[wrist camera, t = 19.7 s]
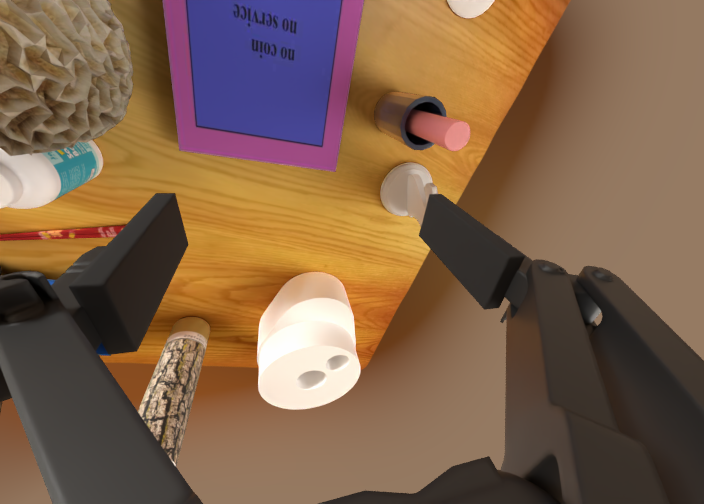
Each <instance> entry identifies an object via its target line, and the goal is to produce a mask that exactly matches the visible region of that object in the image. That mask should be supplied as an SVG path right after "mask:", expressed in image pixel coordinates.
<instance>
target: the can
mask: <svg viewBox="0 0 704 504" xmlns="http://www.w3.org/2000/svg"><path fill="white" fill-rule="evenodd" d="M412 109H416V110H420V111H424V112H428V113H432V114H436V115H440V116H444V117H446V110H445V108H444V106H443V104H442V102H440V101H439V100H438V99H437V98H435V97H431V96H424V95H417V94H410V93H403V92H395V91H394V92H389V93H387V94H385V95H384V96H382V97H381V98H380V100H379V101H378V103H377V105H376V107H375V111H374V120H375V123H376V126H377V127H378V129H379V130H380V131H381V132H383V133H384V134H386V135H388V136H390V137H392V138H393V139H395V140H397V141H399V142H401V143H403V144H404V145H406V146H408V147H410V148H412V149H414V150H424V149H427V148H430V147H431V146H433V145H434V143H432V142H430V141H428V140H425V139H423V138H421V137H418V136H416V135H414V134H412V133H409V132H407V131H405V124H406V119H407V117H408V115H409V113H410V111H411V110H412Z"/></svg>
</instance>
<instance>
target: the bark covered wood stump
mask: <svg viewBox="0 0 704 504" xmlns="http://www.w3.org/2000/svg"><path fill="white" fill-rule="evenodd" d="M209 335H210V326H209V324H208V323H207V322H206V321H205V320H203V319H201V318H198V317H185V318H182V319H180V320H178V321H177V322H176V323H175V324H174V325H173V327H172V330H171V332H170V334H169V337H168V339H167V341H166V344H165V346H164V349H163V351H162V354H161V356H160V359H159V361H158V363H157V366H156V368H155V371H154V373H153V376H152V378H151V381H150V383H149V385H148V388H147V390H146V393H145V395H144V398H143V400H142V403H141V405H140V408H139V410H138V413H139V414H140V416H141V417H142V419H143V420H144V422H145V423H146V425H147V426H148V427H149V429H150V430H151V432H152V433H153V435H154V436H155V438H156V439H157V440H158V442H159V443H160V445H161V446H162V448H163V449H164V451H165V452H166V453H167V455H168V456H169V458H170V459H171V461H172V462H173V463H174V465H175V466H176V465H177V461H178V457H179V453H180V449H181V445H182V441H183V438H184V434H185V430H186V426H187V422H188V418H189V414H190V410H191V406H192V402H193V398H194V394H195V390H196V386H197V382H198V378H199V374H200V371H201V367H202V363H203V359H204V355H205V351H206V347H207V342H208V339H209Z"/></svg>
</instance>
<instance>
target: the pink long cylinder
mask: <svg viewBox="0 0 704 504" xmlns="http://www.w3.org/2000/svg"><path fill="white" fill-rule="evenodd" d="M405 131H407V132H409V133H412V134H414V135H416V136H418V137H421V138H423V139H425V140H428V141H430V142H432V143H434V144H437V145H439V146H441V147H444V148H446V149H448V150H451V151H458V150H460V149H462V148H463V147H464V146H465V145H466V144H467V142H468V140H469V138H470V127H469V125H468V124H467V123H466V122H463V121H460V120H456V119H452V118H448V117H444V116H440V115H436V114H432V113H428V112H424V111H420V110H416V109H412V110H411V111H410V113H409V115H408V117H407V119H406V124H405Z"/></svg>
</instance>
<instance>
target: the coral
mask: <svg viewBox="0 0 704 504" xmlns="http://www.w3.org/2000/svg"><path fill="white" fill-rule="evenodd" d="M110 7H111V4H110V3H109V1H108V0H0V148H1V149H2V150H4V151H5V152H6V153H7V154H8V155H10V156H16V155H23V154H30V155H31V156H32V154H33V153H45V152H51V151H56V150H60V149H65V148H66V147H69V148H73V147H74V145H75V144H76V143H77V142H85V143H87V142H89V141H90V140H92V139H95V138H97V137H99V136H101V135H103V134H104V133H105V132H106V131H108V130H109V129H111V128H113V127H114V126H116V124H118V123H119V122H120V121H121V120H123V118H124V116H125V114H126V112H127V106H128V103H129V99H130V97H131V94H132V88H133V83H132V79H131V76H132V75H133V69H132V62H131V56H130V54H131V52H130V50H129V43H128V42H127V40H126V38H125V35H124V29H123V26H122V24H121V23H120V21H119V20H118V19H117V18H116V16H115V15H114V13H113V11H112V10H111V8H110Z"/></svg>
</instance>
